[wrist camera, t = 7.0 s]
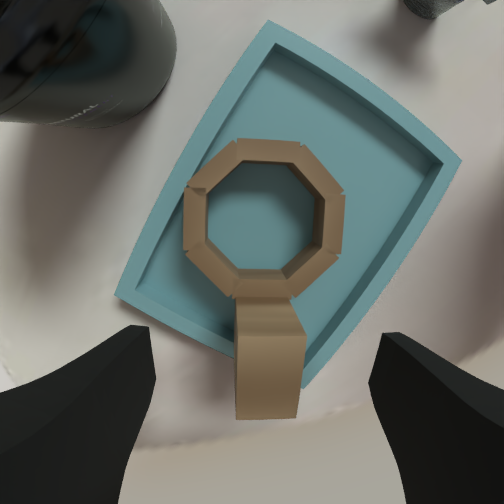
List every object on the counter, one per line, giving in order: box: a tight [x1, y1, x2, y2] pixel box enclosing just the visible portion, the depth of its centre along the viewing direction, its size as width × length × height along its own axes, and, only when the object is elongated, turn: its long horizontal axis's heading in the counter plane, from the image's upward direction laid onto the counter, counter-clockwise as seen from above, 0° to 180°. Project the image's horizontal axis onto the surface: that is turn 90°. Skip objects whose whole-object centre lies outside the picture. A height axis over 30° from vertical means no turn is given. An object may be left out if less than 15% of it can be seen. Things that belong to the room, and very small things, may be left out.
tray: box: [114, 20, 462, 389], centre depth 13 cm, size 10×14×2 cm
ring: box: [183, 138, 346, 420], centre depth 11 cm, size 9×6×5 cm, turn 178°
